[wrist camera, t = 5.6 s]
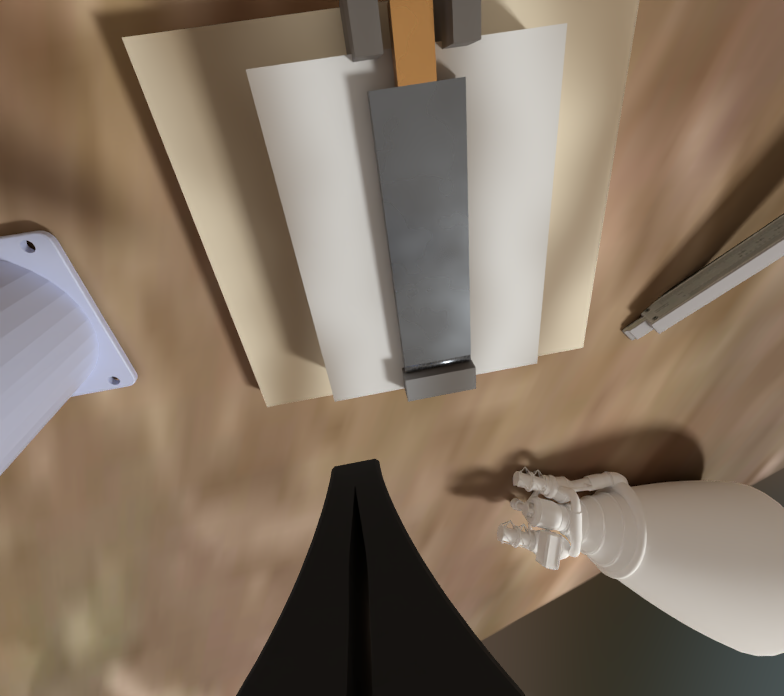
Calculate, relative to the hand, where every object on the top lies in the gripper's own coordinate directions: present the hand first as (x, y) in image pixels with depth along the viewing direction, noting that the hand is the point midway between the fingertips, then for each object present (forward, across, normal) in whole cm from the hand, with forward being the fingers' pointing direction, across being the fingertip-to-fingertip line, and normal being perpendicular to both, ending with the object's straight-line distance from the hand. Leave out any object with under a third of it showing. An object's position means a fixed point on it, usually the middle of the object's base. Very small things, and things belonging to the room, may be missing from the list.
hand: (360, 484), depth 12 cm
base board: (+10, -4, -4) cm, 12 cm away
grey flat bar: (+7, -4, -6) cm, 10 cm away
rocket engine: (+11, -18, +18) cm, 28 cm away
